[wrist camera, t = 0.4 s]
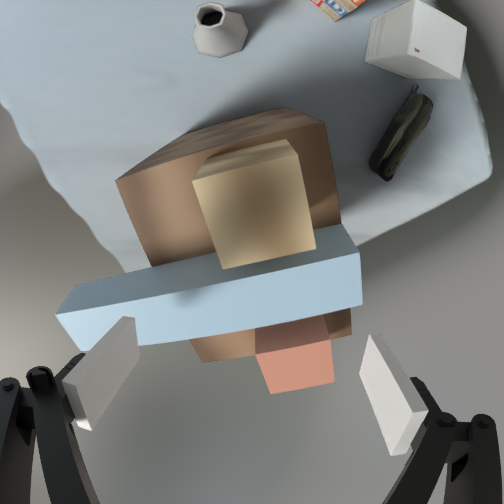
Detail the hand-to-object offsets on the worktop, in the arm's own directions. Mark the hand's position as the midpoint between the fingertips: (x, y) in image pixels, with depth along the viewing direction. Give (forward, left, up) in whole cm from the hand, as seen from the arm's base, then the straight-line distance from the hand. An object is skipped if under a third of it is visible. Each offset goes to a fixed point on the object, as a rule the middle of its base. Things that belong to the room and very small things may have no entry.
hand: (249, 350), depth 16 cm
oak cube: (-6, -3, -7) cm, 10 cm away
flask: (-15, -15, -30) cm, 37 cm away
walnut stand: (0, 0, -29) cm, 29 cm away
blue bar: (+3, -3, -7) cm, 8 cm away
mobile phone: (-20, +12, -30) cm, 37 cm away
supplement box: (-28, +4, -30) cm, 41 cm away
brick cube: (+2, +6, -7) cm, 9 cm away
